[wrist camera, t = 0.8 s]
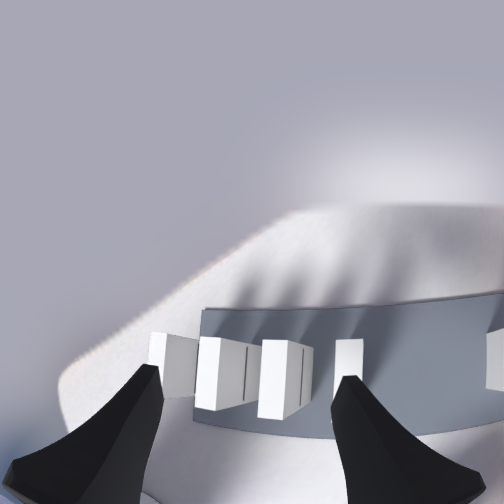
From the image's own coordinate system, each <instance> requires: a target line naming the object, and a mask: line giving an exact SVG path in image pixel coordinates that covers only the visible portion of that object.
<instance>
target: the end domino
mask: <svg viewBox="0 0 504 504" xmlns="http://www.w3.org/2000/svg"><path fill="white" fill-rule="evenodd" d="M199 344H200V340H195V339H190V338H186V337H181V336H176V335H172V334H167V333H157V332H151V336H150V345H149V355H148V364H149V365H155V366H158V367H159V373H160V379H161V384H162V390H163V395H164V399H171V398H183V397H193V396H195V394H196V380H197V367H198V355H199Z"/></svg>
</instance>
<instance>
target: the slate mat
mask: <svg viewBox="0 0 504 504" xmlns="http://www.w3.org/2000/svg"><path fill="white" fill-rule="evenodd" d="M503 328H504V293H500V294H494V295H486V296H479V297H471V298H463V299H454V300H445V301H435V302H425V303H414V304H402V305H389V306H375V307H358V308H338V309H312V310H255V311H241V310H202V315H201V325H200V336H202V337H217V338H224V339H229V340H234V341H238V342H243V343H248V344H253V345H259V346H262V342H263V340H289V341H292V342H296V343H299V344H303V345H306V346H310V347H313V348H314V354H313V374H312V391H311V402H310V403H308V404H307V405H305V406H304V407H302V408H301V409H299V410H298V411H296V412H295V413H293V414H292V415H290V416H288V417H287V418H285V419H284V420H276V419H267V418H258V417H257V415H258V402H259V400H256V401H253V402H249V403H245V404H242V405H238V406H234V407H230V408H226V409H222V410H217V411H213V410H208V409H203V408H198V407H195V398H194V414H193V421H196V422H201V423H205V424H210V425H215V426H220V427H225V428H231V429H236V430H242V431H249V432H255V433H263V434H271V435H279V436H289V437H301V438H317V439H335V435H334V431H333V425H332V423H331V419H332V418H331V409H330V407H331V404H332V402H333V393H334V376H335V353H336V340H344V339H363V342H364V373H363V383H364V384H365V385H366V386H367V388H368V389H369V390H370V391H371V392H372V394H373V395H374V396H375V397H376V398H377V399H378V401H379V402H380V403H381V404H382V405H383V406H384V407H385V408H386V409H387V411H388V412H389V413H390V414H391V415H392V416H393V417H394V418H395V419H396V420H397V421H398V422H399V423H400V424H401V425H402V426H403V427H404V428H405V429H407V430H408V431H409V432H410V433H411V434H412V435H414V436H422V435H430V434H437V433H444V432H450V431H456V430H461V429H467V428H472V427H476V426H481V425H485V424H489V423H493V422H497V421H501V420H504V391H498V390H492V389H486V372H487V338H486V334H487V333H491V332H494V331H497V330H500V329H503ZM200 336H199V340H200Z"/></svg>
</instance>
